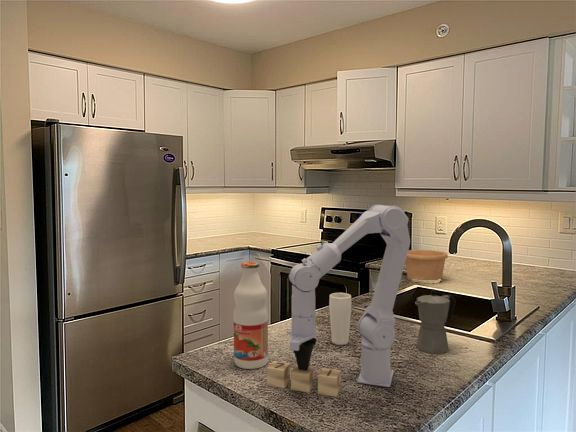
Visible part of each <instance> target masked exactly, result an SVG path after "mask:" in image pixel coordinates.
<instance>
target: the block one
mask: <svg viewBox="0 0 576 432" xmlns="http://www.w3.org/2000/svg"><path fill="white" fill-rule="evenodd" d="M341 389H342V370H339V369H331V368H326V367H323V368H322V369H320V371H319V373H318V375H317V394H318V395H323V396H330V397H338V395H339V392H340V391H341Z"/></svg>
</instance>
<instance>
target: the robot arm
mask: <svg viewBox="0 0 576 432" xmlns="http://www.w3.org/2000/svg"><path fill="white" fill-rule="evenodd" d="M409 220H410V219H409V217H408V216H407V214H406V213H405V212H404V210H403V209H402V208H401V207H399V206H397V205H383V204H375V205H372V206H371V207H369V209H368V210H366V211H364V212H363V213H362V214H361V215H360V217H358V218H357V219H356V220H355V221H354V222H353V223H352V224H351V225H350V226H349V227H348V228H347V229H345V230H344V231H343V233H342V234H340V235H339V236H338V237H337V238H336V239H335V240H334V241H333V242H332V243H330V242H324V243H323V244H321V243H320V244H319V243H318V245H317V246H316V250H314V252H313V253H311V254H310V255H309V256H308V257H306V258H305V257H304V258H303V259H301V262H302V263H297V264H295V265H293V267H292V268H291V269H290V272H289V274H288V279H289V281H290V283H291V284H292V285H291V328H289V329H287V331H286V334H287V335H290V341H289V350H290V351H292V352H293V354H294V357H295V360H296V365H298V369H299V370H307V369H308V367H309V366H310V362H311V358H312V353H313V350H314V347H315V345H316V344H317V340H318V339H317V338H316V337H317V330H316V288H317V287H318V285H319V282H320V279H322V278H323V277H324V275H326V274H327V273H328V272H329V271H330V270H331V269H333V268H335V266H336V265H337V264H339V263H340V262H341V259H342V254H343V253H345V251H347V250H348V249H349V248H351V247H352V246H353V245H354V244H355V243H357V242H358V241H359V240H361V239H362V238H363V237H365V236H366V235H368V234H375V233H376V234H380V236H381V238H382V239H383V240H384V241H385V244H386V247H385V250H384V253H383V258H382V261H381V266H380V270H379V273H378V277H377V280H376V285H375V289H374V292H373V295H372V296H373V297H372V300H371V302H370V304H369V305H368V306H366V307H365V309H364V313H363V315H362V316H361V317H360V318H359V320H358V323H357V330H358V332H359V334H360V335H361V337H362V339H361V346H360V349H361V351H360V352H361V354H360V355H361V356H360V357H361V358H360V361H361V362H360V363H361V364H360V373H359V375H358V377H357V381H356V382H357V383H358V384H359V383H360V384H365V385H371V386H379V387H385V388H390V387H391V384H392V380H393V375H394V369H391V346H393V344H394V341H395V339H396V330H395V325H396V322H397V321H396V318H395V314H394V312H393V310H394V307H395V302H396V297H397V294H398V291H399V286H400V283H401V279H402V276H403V272H404V268H405V266H406V257H407V253H408V250H410V249H409V248H410V245H411V237H410V231H409V227H408V226H409V225H408V224H409Z"/></svg>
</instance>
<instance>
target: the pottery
mask: <svg viewBox="0 0 576 432" xmlns="http://www.w3.org/2000/svg"><path fill="white" fill-rule="evenodd" d="M448 255H449V254H448V253H447V252H444V251H440V250H433V249H432V250H431V249H409V250H408V253H407V257H406V261H405V267H406V275H407V277H406V278H407V281H409V280H412V279H417V280H438V279H441V278H442V279H443V274H444V268H445V262H446V259H448V257H449V256H448Z"/></svg>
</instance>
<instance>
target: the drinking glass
mask: <svg viewBox="0 0 576 432" xmlns="http://www.w3.org/2000/svg"><path fill="white" fill-rule="evenodd" d="M328 300H329V301H328V302H329V303H328V305H329V306H328V308H329V320H330V330H331V331H330V332H331V333H330V334H331V342H332V344H334V345H336V346H344V345H347V344H349V342H350V341H349V340H350V339H349V338H350V328H351V317H352V316H351V315H352V295H351V294H349V293H345V292H334V293H331V294H329V299H328Z"/></svg>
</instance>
